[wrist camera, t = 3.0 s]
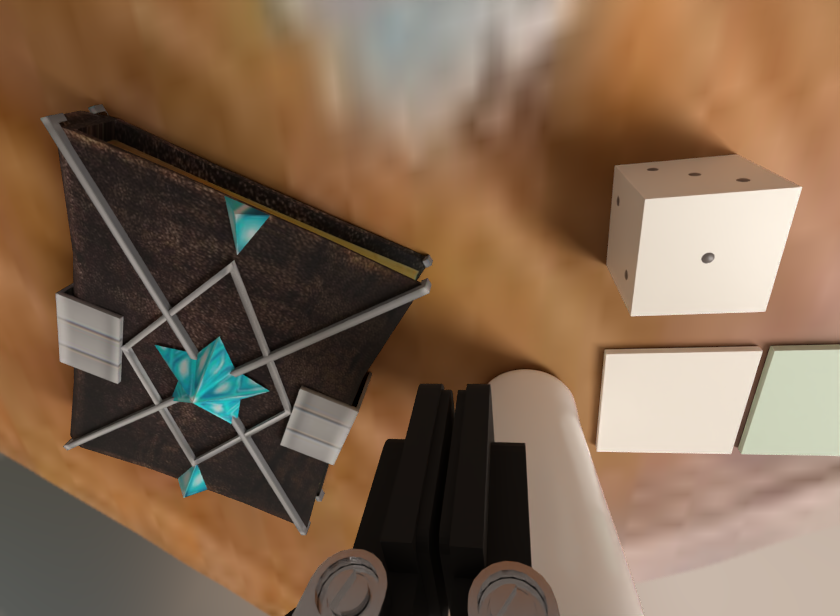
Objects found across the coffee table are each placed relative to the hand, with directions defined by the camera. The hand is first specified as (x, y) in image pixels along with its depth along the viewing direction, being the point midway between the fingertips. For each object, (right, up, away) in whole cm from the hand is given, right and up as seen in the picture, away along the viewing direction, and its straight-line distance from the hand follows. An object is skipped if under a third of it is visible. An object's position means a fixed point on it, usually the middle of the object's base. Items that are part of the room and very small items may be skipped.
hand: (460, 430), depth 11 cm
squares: (+16, -2, +13) cm, 20 cm away
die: (+9, +7, +8) cm, 14 cm away
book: (-12, +1, +16) cm, 20 cm away
